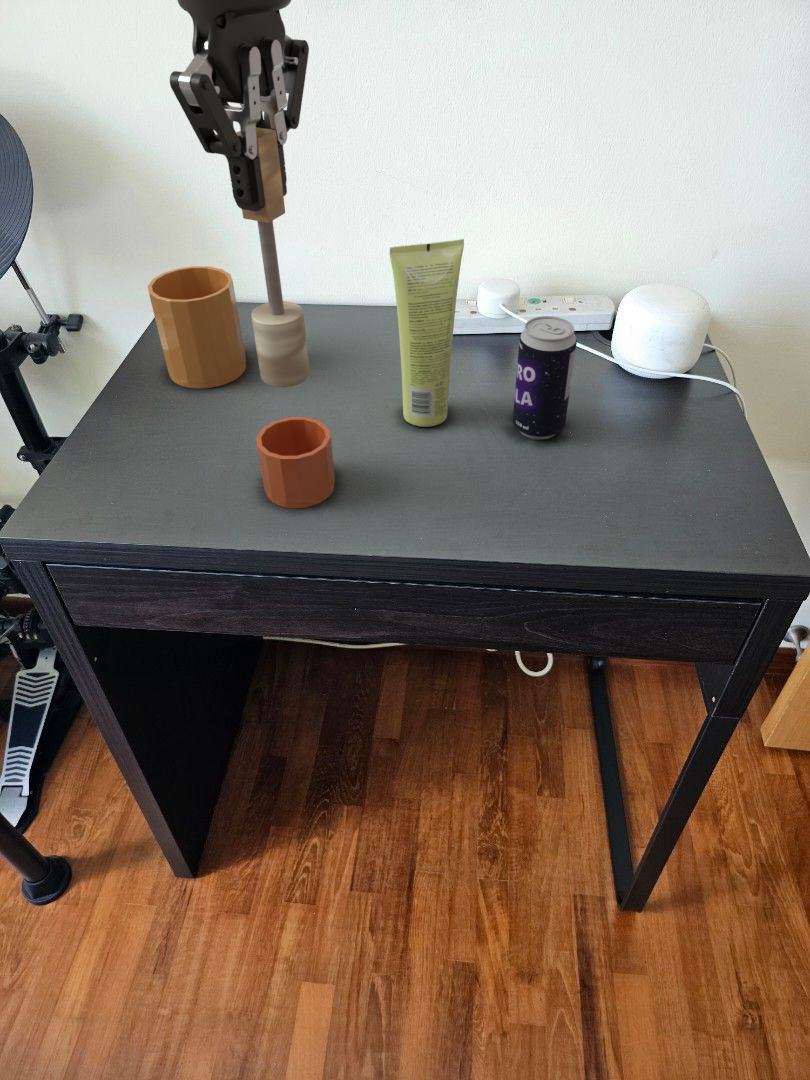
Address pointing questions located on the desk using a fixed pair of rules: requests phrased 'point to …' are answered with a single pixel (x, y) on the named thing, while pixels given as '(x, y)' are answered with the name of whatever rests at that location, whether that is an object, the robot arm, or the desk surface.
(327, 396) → the desk surface
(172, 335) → the orange pen cup
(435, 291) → the tube
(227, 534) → the desk surface
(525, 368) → the beverage can
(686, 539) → the desk surface
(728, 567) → the desk surface
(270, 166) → the brush
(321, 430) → the cup
